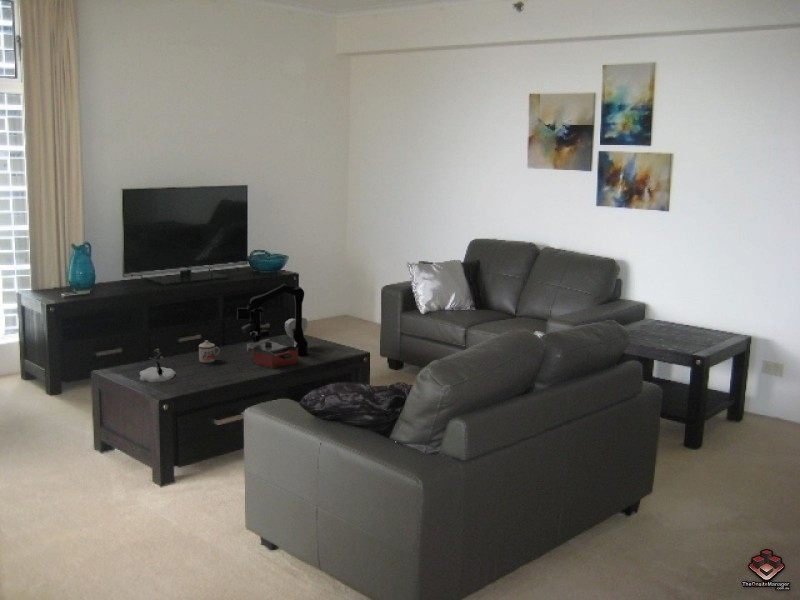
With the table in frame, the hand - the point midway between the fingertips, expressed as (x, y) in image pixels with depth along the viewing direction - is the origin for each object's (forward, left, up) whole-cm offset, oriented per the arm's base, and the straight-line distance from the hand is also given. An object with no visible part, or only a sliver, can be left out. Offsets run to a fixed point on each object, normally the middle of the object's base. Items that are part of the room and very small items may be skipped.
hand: (255, 345), depth 499 cm
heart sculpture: (-30, +1, -7) cm, 31 cm away
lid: (0, +11, -1) cm, 11 cm away
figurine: (+62, -5, -7) cm, 63 cm away
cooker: (0, +19, -6) cm, 20 cm away
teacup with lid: (+24, -11, -7) cm, 27 cm away
